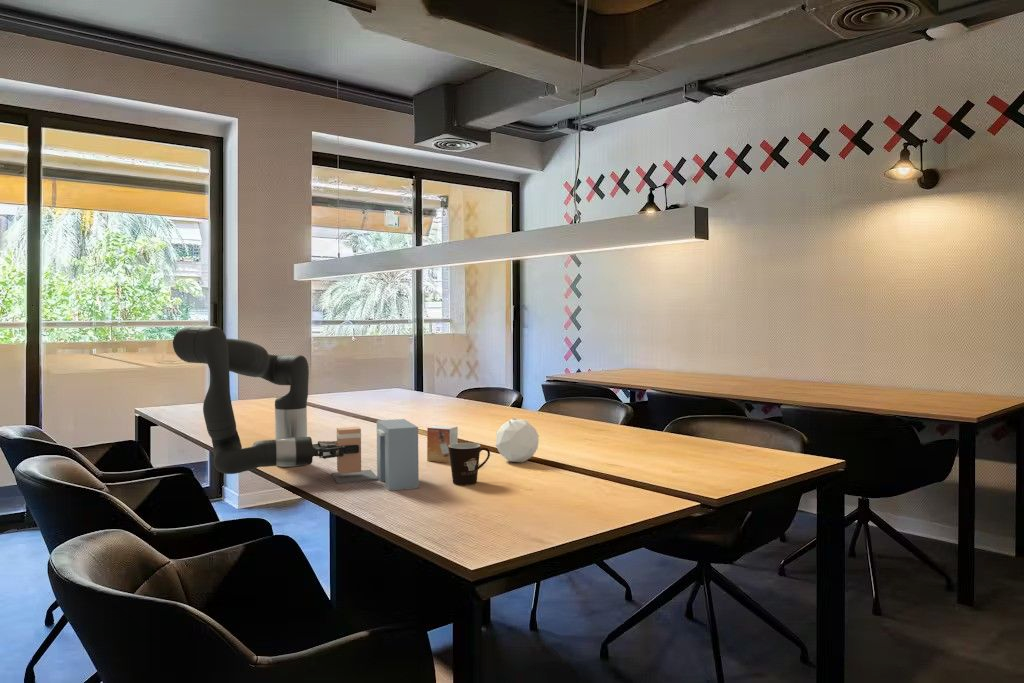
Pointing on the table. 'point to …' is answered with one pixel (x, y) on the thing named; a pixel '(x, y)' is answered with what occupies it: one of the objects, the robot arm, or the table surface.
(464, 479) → the coffee mug
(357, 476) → the mat
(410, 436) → the dispenser
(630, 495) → the table surface
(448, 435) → the small box
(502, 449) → the geodesic sphere
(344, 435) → the small cardboard carton
